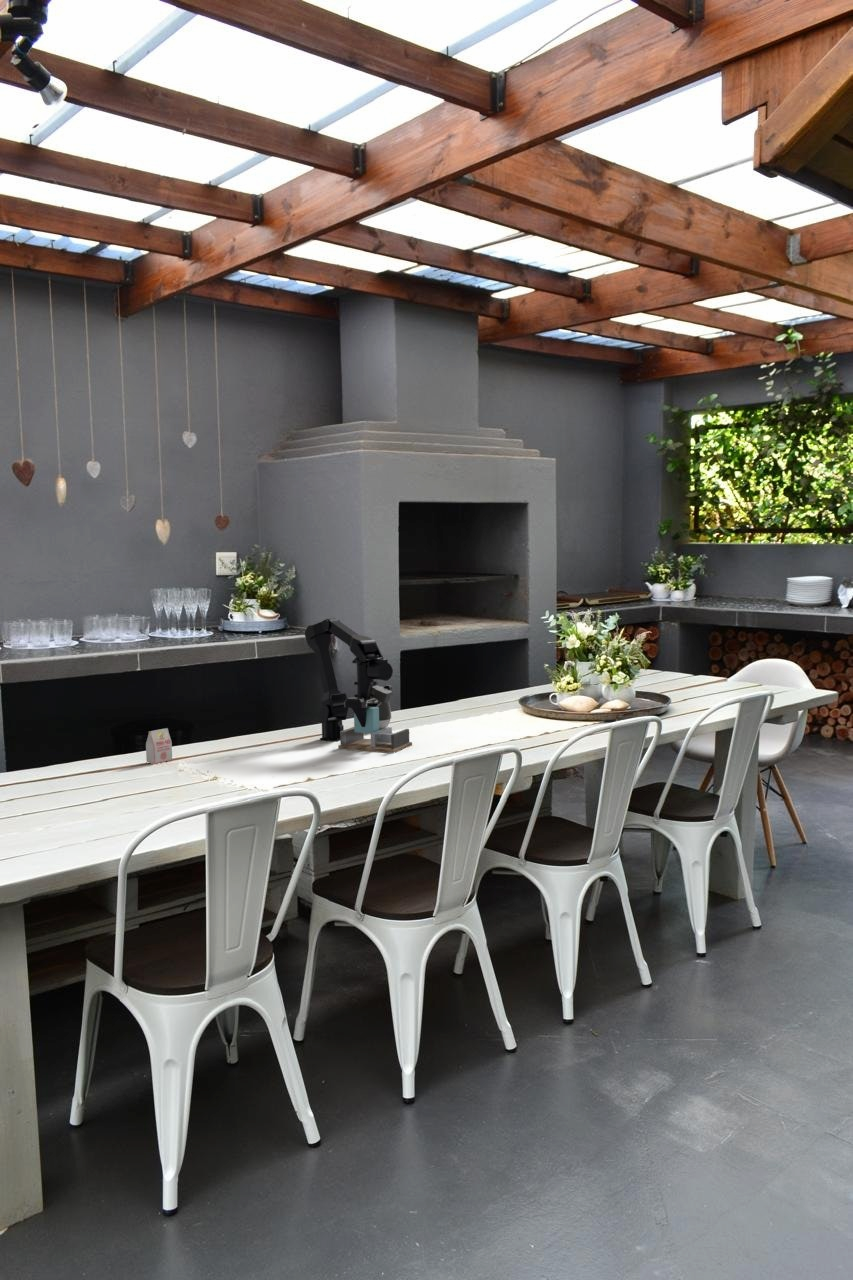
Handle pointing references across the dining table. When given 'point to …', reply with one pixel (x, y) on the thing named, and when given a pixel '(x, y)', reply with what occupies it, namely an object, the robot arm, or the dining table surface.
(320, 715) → the robot arm
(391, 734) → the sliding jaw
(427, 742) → the dining table surface
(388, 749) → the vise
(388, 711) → the pump dispenser
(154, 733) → the white cardboard carton
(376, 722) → the workpiece block
